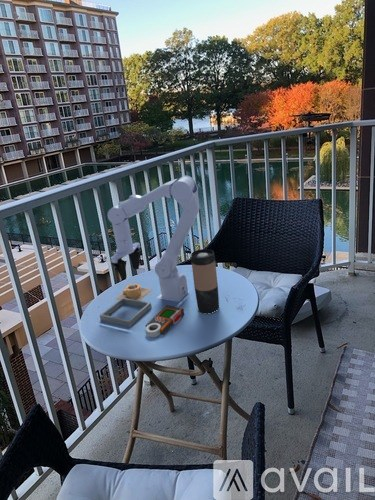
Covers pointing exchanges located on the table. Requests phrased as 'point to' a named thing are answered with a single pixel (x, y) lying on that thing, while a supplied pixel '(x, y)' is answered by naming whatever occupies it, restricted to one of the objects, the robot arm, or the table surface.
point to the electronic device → (164, 320)
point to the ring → (132, 291)
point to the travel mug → (205, 280)
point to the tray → (129, 323)
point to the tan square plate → (143, 294)
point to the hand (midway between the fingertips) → (130, 273)
